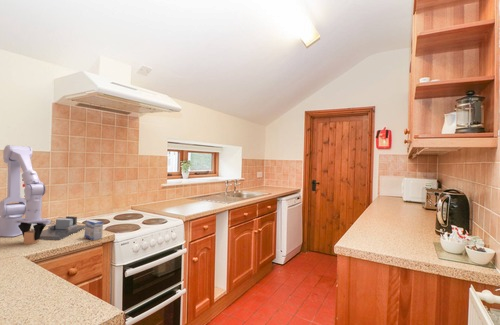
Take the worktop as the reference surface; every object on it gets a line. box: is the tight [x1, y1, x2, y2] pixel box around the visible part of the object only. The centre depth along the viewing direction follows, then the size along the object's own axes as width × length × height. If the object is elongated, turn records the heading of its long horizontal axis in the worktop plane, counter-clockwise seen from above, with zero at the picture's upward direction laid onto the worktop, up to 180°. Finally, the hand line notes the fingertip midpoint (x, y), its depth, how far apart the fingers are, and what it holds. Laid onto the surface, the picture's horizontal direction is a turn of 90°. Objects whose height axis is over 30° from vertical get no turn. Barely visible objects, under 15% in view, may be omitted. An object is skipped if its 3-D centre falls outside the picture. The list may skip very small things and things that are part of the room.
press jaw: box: [55, 215, 78, 229], centre depth 150 cm, size 7×9×5 cm
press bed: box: [39, 223, 85, 241], centre depth 144 cm, size 14×24×4 cm, turn 4°
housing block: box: [23, 228, 40, 245], centre depth 126 cm, size 4×4×6 cm
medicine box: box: [84, 219, 104, 241], centre depth 138 cm, size 8×4×9 cm, turn 62°
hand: (31, 239), depth 126 cm, fingers closed on housing block, 4 cm apart
